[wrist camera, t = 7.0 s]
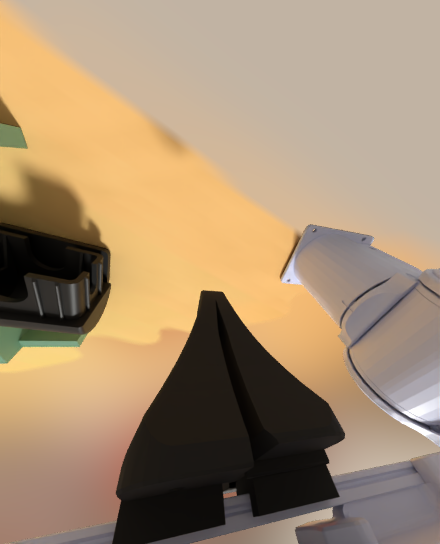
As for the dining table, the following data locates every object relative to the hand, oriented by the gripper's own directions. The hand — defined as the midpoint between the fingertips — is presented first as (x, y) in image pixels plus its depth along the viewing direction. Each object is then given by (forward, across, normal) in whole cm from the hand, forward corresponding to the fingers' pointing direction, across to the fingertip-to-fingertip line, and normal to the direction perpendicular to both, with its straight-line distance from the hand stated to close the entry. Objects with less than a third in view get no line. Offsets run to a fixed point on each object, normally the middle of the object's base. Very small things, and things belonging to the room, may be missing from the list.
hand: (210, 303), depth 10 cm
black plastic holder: (+10, +14, +5) cm, 18 cm away
